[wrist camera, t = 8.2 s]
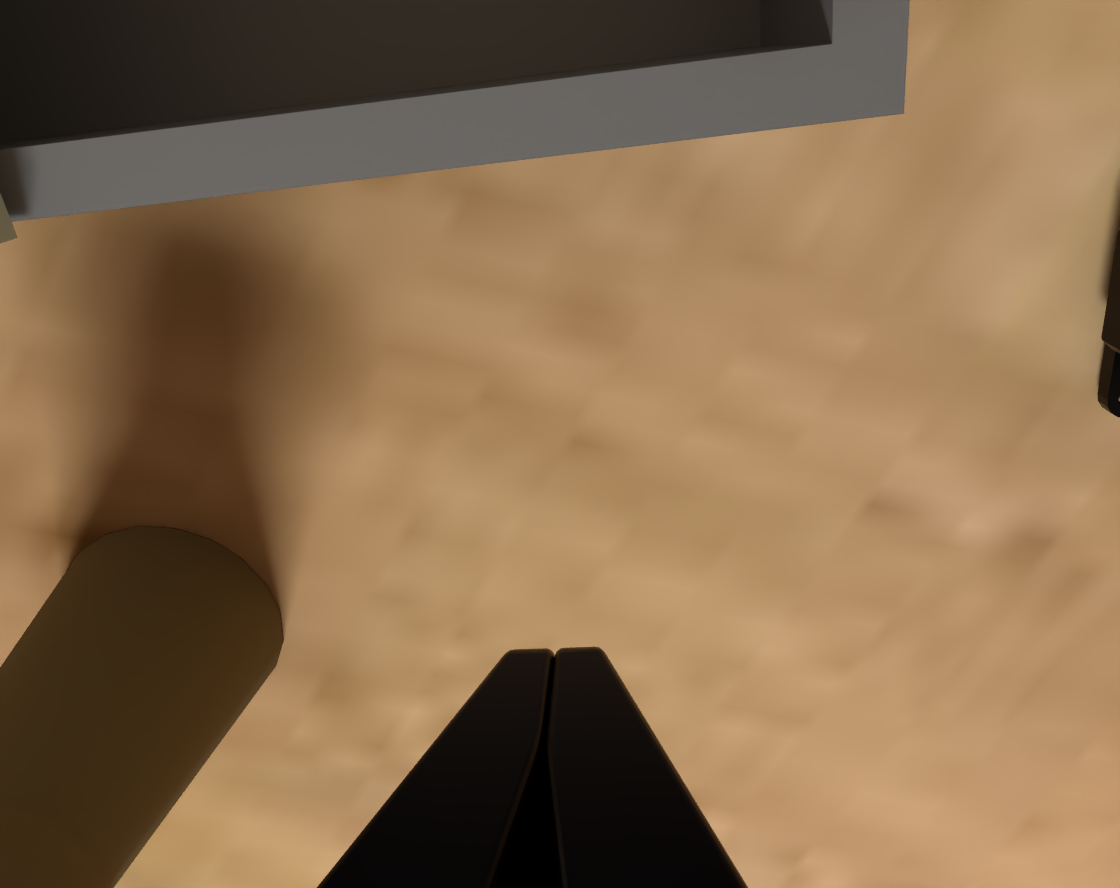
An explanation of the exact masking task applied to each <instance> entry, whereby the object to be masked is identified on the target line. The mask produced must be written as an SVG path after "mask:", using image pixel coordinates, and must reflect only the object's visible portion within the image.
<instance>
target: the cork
mask: <svg viewBox="0 0 1120 888" xmlns="http://www.w3.org/2000/svg"><path fill="white" fill-rule="evenodd" d="M282 644H283V632H282V623H281V614H280V611H279V609H278V607H277V605H276V603H275V601H274V599H273V597H272V595H271V593H270V591H269V589H268V587H267V585H266V584H265V583H264V582H263V581H262V580H261V578H260V577H259V576H258V575H257V574H256V573H255V572H254V571H253V570H252V569H251V568H250V567H249V566H248V565H247V564H246V563H245V562H244V561H243V559H241V558H239V557H238V556H236V555H235V554H233V553H231V552H230V551H228V550H226V549H225V548H223V547H222V546H220V545H218V544H217V543H215V542H213V541H212V540H210V539H207V538H204V537H200V536H197V535H194V534H191V533H188V532H185V531H181V530H178V529H175V528H159V527H139V526H138V527H134V528H130V529H126V530H121V531H117V532H113V533H109V534H105V535H104V536H102V537H101V538H99V539H98V540H96V541H95V542H93V543H92V544H90V545H89V546H87V547H86V548H84V549H83V550H81V551H80V552H79V554H78V555H77V557H76V558H75V560H74V561H73V563H72V564H71V565H70V567H69V568H68V570H67V571H66V573H65V574H64V576H63V577H62V579H61V580H60V581H59V583H58V584H57V586H56V587H55V589H54V590H53V592H52V593H51V595H50V596H49V597H48V599H47V600H46V602H45V603H44V605H43V606H42V608H41V609H40V611H39V612H38V613H37V615H36V616H35V618H34V619H33V621H32V622H31V624H30V625H29V627H28V628H27V629H26V631H25V632H24V634H23V635H22V637H21V638H20V640H19V641H18V643H17V644H16V645H15V647H14V648H13V650H12V651H11V653H10V654H9V656H8V657H7V659H6V660H5V661H4V663H3V664H2V666H1V667H0V888H114V886H115V885H116V884H117V882H118V881H119V880H120V878H121V877H122V876H123V874H124V873H125V871H126V870H127V869H128V867H129V866H130V865H131V863H132V862H133V861H134V859H135V858H136V856H137V855H138V854H139V852H140V851H141V850H142V848H143V847H144V846H145V844H146V843H147V841H148V840H149V839H150V837H151V836H152V835H153V833H154V832H155V830H156V829H157V828H158V826H159V825H160V824H161V822H162V821H163V820H164V818H165V817H166V815H167V814H168V813H169V811H170V810H171V809H172V807H173V806H174V805H175V803H176V802H177V800H178V799H179V798H180V796H181V795H182V794H183V792H184V791H185V790H186V788H187V787H188V785H189V784H190V783H191V781H192V780H193V779H194V777H195V776H196V775H197V773H198V772H199V770H200V769H201V768H202V766H203V765H204V764H205V762H206V761H207V759H208V758H209V757H210V755H211V754H212V753H213V751H214V750H215V749H216V747H217V746H218V744H219V743H220V742H221V740H222V739H223V738H224V736H225V735H226V734H227V732H228V731H229V729H230V728H231V727H232V725H233V724H234V723H235V721H236V720H237V719H238V717H239V716H240V714H241V713H242V712H243V710H244V709H245V708H246V706H247V705H248V703H249V702H250V701H251V699H252V698H253V697H254V695H255V694H256V693H257V691H258V690H259V688H260V687H261V686H262V684H263V683H264V682H265V680H266V679H267V678H268V676H269V675H270V673H271V672H272V671H273V669H274V668H275V667H276V664H277V661H278V658H279V654H280V651H281V647H282Z"/></svg>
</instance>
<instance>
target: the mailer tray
mask: <svg viewBox="0 0 1120 888" xmlns="http://www.w3.org/2000/svg"><path fill="white" fill-rule="evenodd" d="M909 1H910V0H0V193H1V196H2V199H3V201H4V204H5V206H6V209H7V212H8V214H9V217H10V219H11V222H13V221H21V220H30V219H38V218H46V217H54V216H63V215H71V214H79V213H87V212H96V211H104V210H112V209H120V208H129V207H137V206H145V205H153V204H162V203H170V202H178V201H186V200H195V199H203V198H211V197H219V196H228V195H236V194H244V193H252V192H261V191H269V190H277V189H285V188H294V187H302V186H310V185H318V184H327V183H335V182H343V181H351V180H360V179H368V178H376V177H384V176H393V175H401V174H409V173H417V172H426V171H434V170H442V169H451V168H459V167H467V166H475V165H484V164H492V163H500V162H508V161H517V160H525V159H533V158H541V157H550V156H558V155H566V154H574V153H583V152H591V151H599V150H607V149H616V148H624V147H632V146H640V145H649V144H657V143H665V142H673V141H682V140H690V139H698V138H706V137H715V136H723V135H731V134H739V133H748V132H756V131H764V130H772V129H781V128H789V127H797V126H805V125H814V124H822V123H830V122H838V121H847V120H855V119H863V118H871V117H880V116H888V115H896V114H904V101H905V81H906V61H907V41H908V21H909Z"/></svg>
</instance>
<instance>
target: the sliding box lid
mask: <svg viewBox="0 0 1120 888" xmlns="http://www.w3.org/2000/svg"><path fill="white" fill-rule="evenodd" d="M15 238H17V235H16V232H15V230H14V227H13V225H12V222H11V219H10V217H9V214H8V212H7V209H6V206H5V204H4V201H3V199H2V196H1V193H0V243H3V242H6V241H9V240H12V239H15Z"/></svg>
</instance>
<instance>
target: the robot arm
mask: <svg viewBox="0 0 1120 888" xmlns="http://www.w3.org/2000/svg"><path fill="white" fill-rule="evenodd" d="M1102 340H1103V341H1104V342H1105V343H1106V345H1105V351H1104V357H1103V363H1102V370H1101V376H1100V382H1099V388H1098V401H1099V403H1100V405H1101V406H1102V407H1103V408H1104V409H1106V410H1107V411H1109V412H1110V413H1112V414H1114V415H1115V416H1117V417H1120V401H1119V400H1118V399H1119V396H1120V230H1119V232H1118V236H1117V242H1116V248H1115V255H1114V261H1113V267H1112V274H1111V280H1110V287H1109V293H1108V299H1107V306H1106V312H1105V318H1104V325H1103V331H1102ZM317 888H748V887H747V885H746V884H745V882H744V880H743V879H742V877H741V875H740V874H739V872H738V870H737V869H736V867H735V866H734V864H733V862H732V861H731V859H730V857H729V856H728V854H727V852H726V851H725V849H724V847H723V846H722V844H721V843H720V841H719V839H718V838H717V836H716V834H715V833H714V831H713V829H712V828H711V826H710V824H709V823H708V821H707V820H706V818H705V816H704V815H703V813H702V811H701V810H700V808H699V806H698V805H697V803H696V801H695V800H694V798H693V797H692V795H691V793H690V792H689V790H688V788H687V787H686V785H685V783H684V782H683V780H682V778H681V777H680V775H679V774H678V772H677V770H676V769H675V767H674V765H673V764H672V762H671V760H670V759H669V757H668V755H667V754H666V752H665V751H664V749H663V747H662V746H661V744H660V742H659V741H658V739H657V737H656V736H655V734H654V732H653V731H652V729H651V728H650V726H649V724H648V723H647V721H646V719H645V718H644V716H643V714H642V713H641V711H640V709H639V708H638V706H637V705H636V703H635V701H634V700H633V698H632V696H631V695H630V693H629V691H628V690H627V688H626V686H625V685H624V683H623V682H622V680H621V678H620V677H619V675H618V673H617V672H616V670H615V668H614V667H613V665H612V663H611V662H610V660H609V659H608V657H607V655H606V654H605V652H604V651H603V650H602V649H600V648H599V647H575V648H561V649H559V650H558V651H557V652H556V654H555V655H554V653H553V652H552V651H551V650H550V649H546V648H545V649H515V650H510V651H508V652H507V653H505V654H504V656H503V657H502V658H501V659H500V661H499V662H498V663H497V664H496V665H495V667H494V668H493V669H492V670H491V672H490V673H489V674H488V675H487V677H486V678H485V679H484V680H483V682H482V683H481V684H480V685H479V687H478V688H477V689H476V690H475V692H474V693H473V694H472V695H471V697H470V698H469V699H468V700H467V702H466V703H465V704H464V705H463V707H462V708H461V709H460V710H459V712H458V713H457V714H456V715H455V716H454V718H453V719H452V720H451V721H450V723H449V724H448V725H447V726H446V728H445V729H444V730H443V731H442V733H441V734H440V735H439V736H438V738H437V739H436V740H435V741H434V743H433V744H432V745H431V746H430V748H429V749H428V750H427V751H426V753H425V754H424V755H423V756H422V758H421V759H420V760H419V761H418V763H417V764H416V765H415V766H414V768H413V769H412V770H411V771H410V772H409V774H408V775H407V776H406V777H405V779H404V780H403V781H402V782H401V784H400V785H399V786H398V787H397V789H396V790H395V791H394V792H393V794H392V795H391V796H390V797H389V799H388V800H387V801H386V802H385V804H384V805H383V806H382V807H381V809H380V810H379V811H378V812H377V814H376V815H375V816H374V817H373V819H372V820H371V821H370V822H369V823H368V825H367V826H366V827H365V828H364V830H363V831H362V832H361V833H360V835H359V836H358V837H357V838H356V840H355V841H354V842H353V843H352V845H351V846H350V847H349V848H348V850H347V851H346V852H345V853H344V855H343V856H342V857H341V858H340V860H339V861H338V862H337V863H336V865H335V866H334V867H333V868H332V870H331V871H330V872H329V873H328V875H327V876H326V877H325V878H324V879H323V881H322V882H321V883H320V884H319V886H318V887H317Z"/></svg>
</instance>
